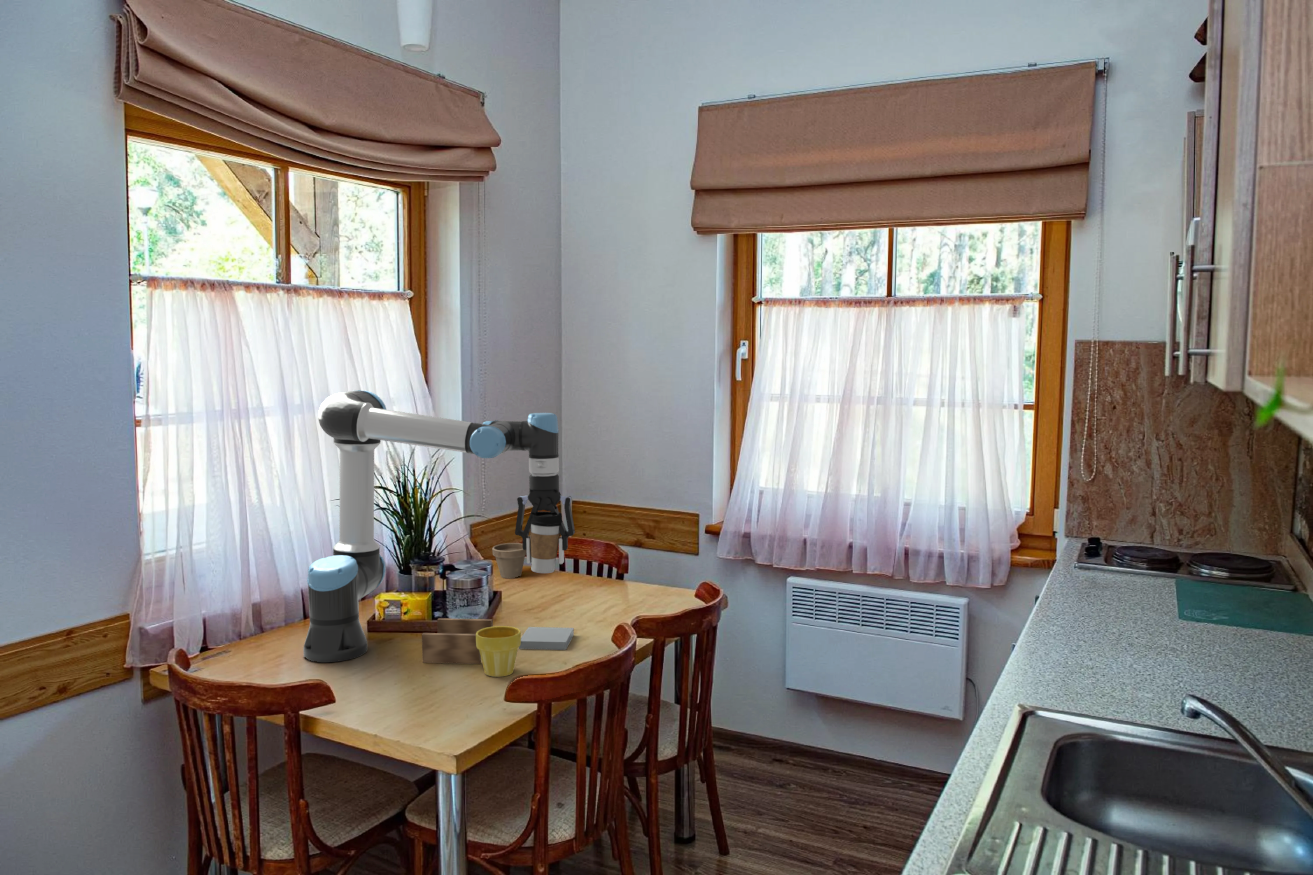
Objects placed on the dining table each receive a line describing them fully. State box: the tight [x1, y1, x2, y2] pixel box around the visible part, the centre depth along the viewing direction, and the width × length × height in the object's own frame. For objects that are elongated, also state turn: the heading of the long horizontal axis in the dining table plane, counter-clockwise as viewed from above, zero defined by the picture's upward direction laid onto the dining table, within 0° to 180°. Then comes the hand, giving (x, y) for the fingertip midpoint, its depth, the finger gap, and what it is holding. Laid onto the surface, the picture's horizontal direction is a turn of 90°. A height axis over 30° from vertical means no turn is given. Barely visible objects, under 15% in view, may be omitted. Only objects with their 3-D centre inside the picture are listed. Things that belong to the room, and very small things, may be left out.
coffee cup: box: [529, 511, 564, 574], centre depth 243 cm, size 8×8×15 cm
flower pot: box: [491, 542, 527, 579], centre depth 314 cm, size 12×11×10 cm
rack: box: [421, 617, 494, 665], centre depth 237 cm, size 14×13×7 cm
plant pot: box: [476, 625, 522, 678], centre depth 223 cm, size 10×10×10 cm
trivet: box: [518, 626, 575, 651], centre depth 246 cm, size 12×12×2 cm
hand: (545, 562), depth 244 cm, fingers closed on coffee cup, 8 cm apart
